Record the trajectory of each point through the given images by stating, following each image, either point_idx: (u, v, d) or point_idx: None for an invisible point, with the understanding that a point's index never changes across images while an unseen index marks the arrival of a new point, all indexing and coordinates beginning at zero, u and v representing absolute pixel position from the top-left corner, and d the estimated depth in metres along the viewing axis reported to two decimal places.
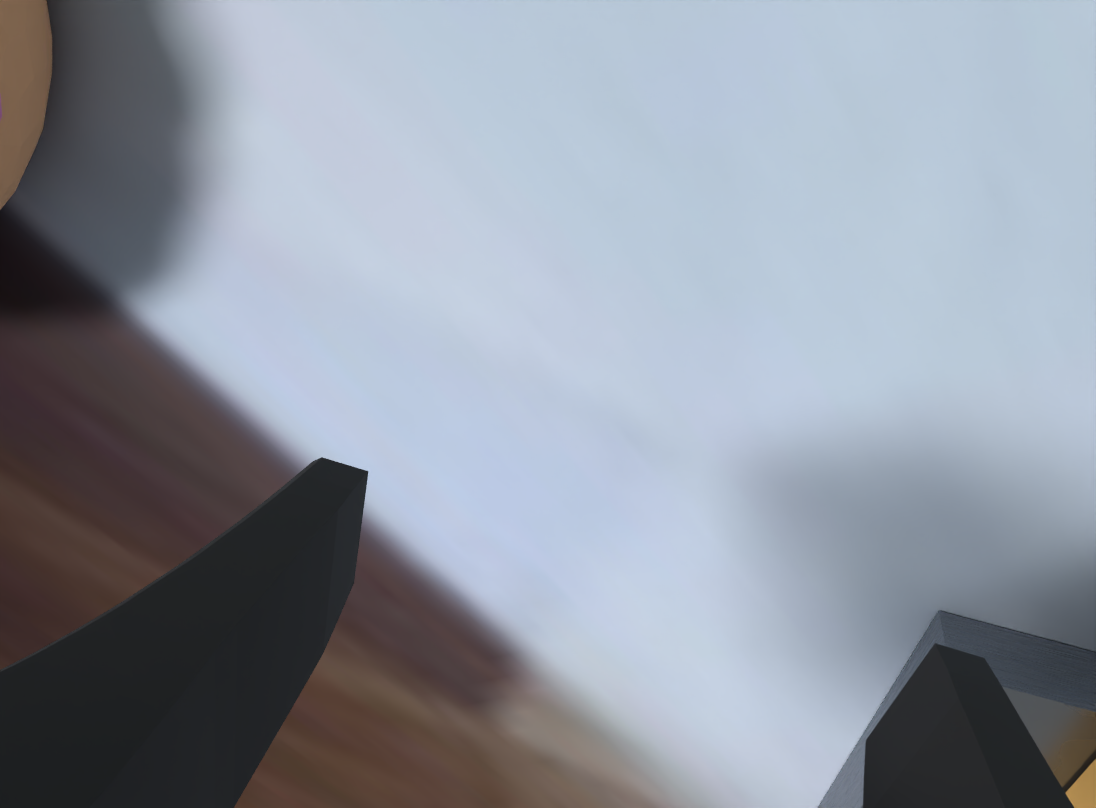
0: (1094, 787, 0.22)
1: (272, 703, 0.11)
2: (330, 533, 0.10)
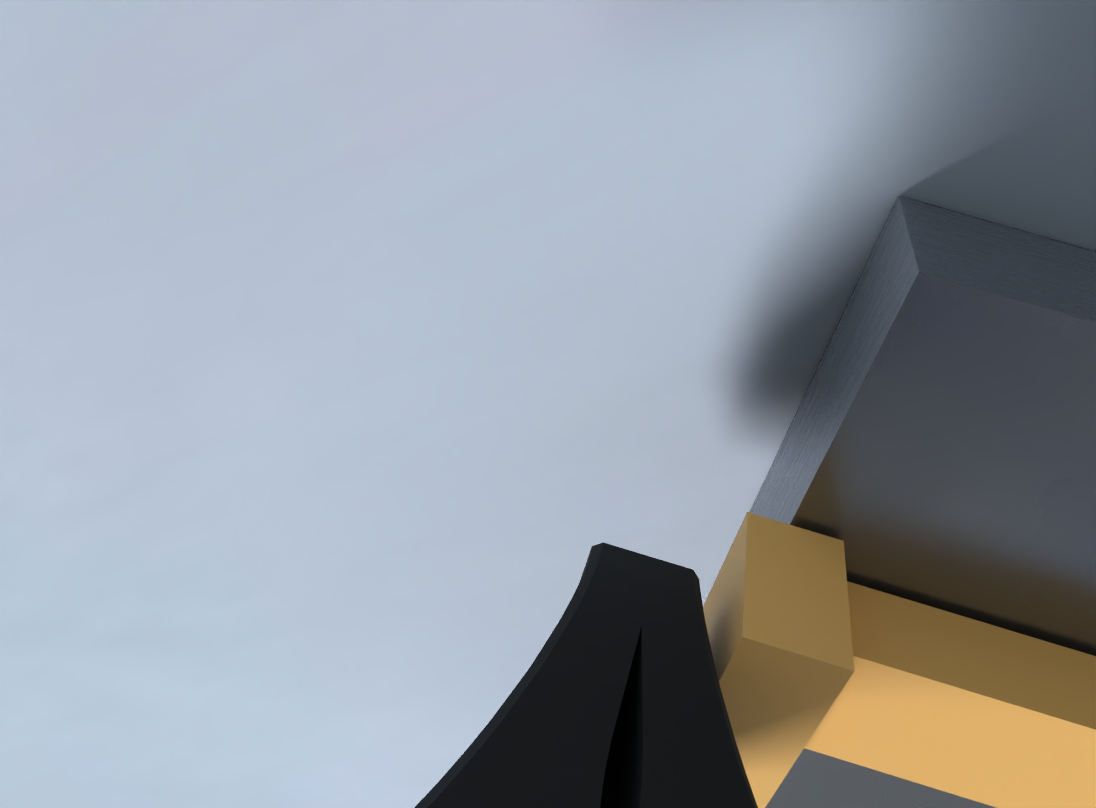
0: None
1: None
2: None
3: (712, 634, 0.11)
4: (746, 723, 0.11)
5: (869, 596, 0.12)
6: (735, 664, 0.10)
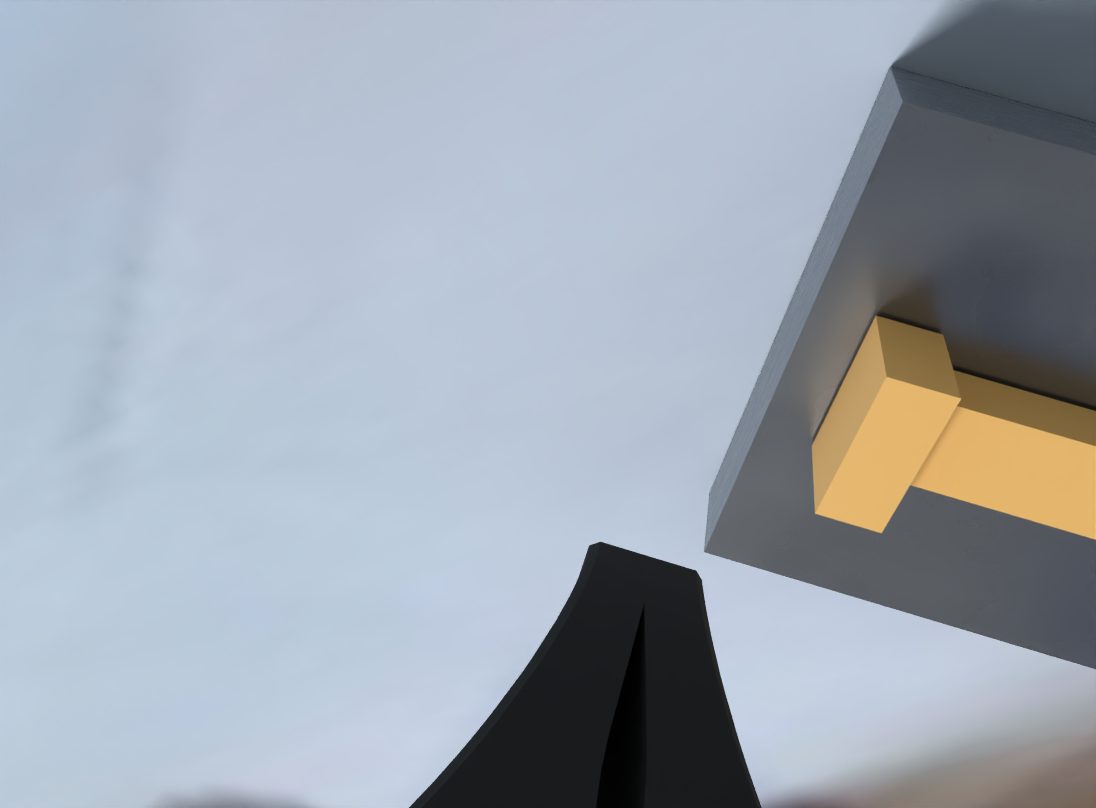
0: None
1: None
2: None
3: (852, 399, 0.16)
4: (882, 448, 0.15)
5: (960, 376, 0.17)
6: (879, 399, 0.15)
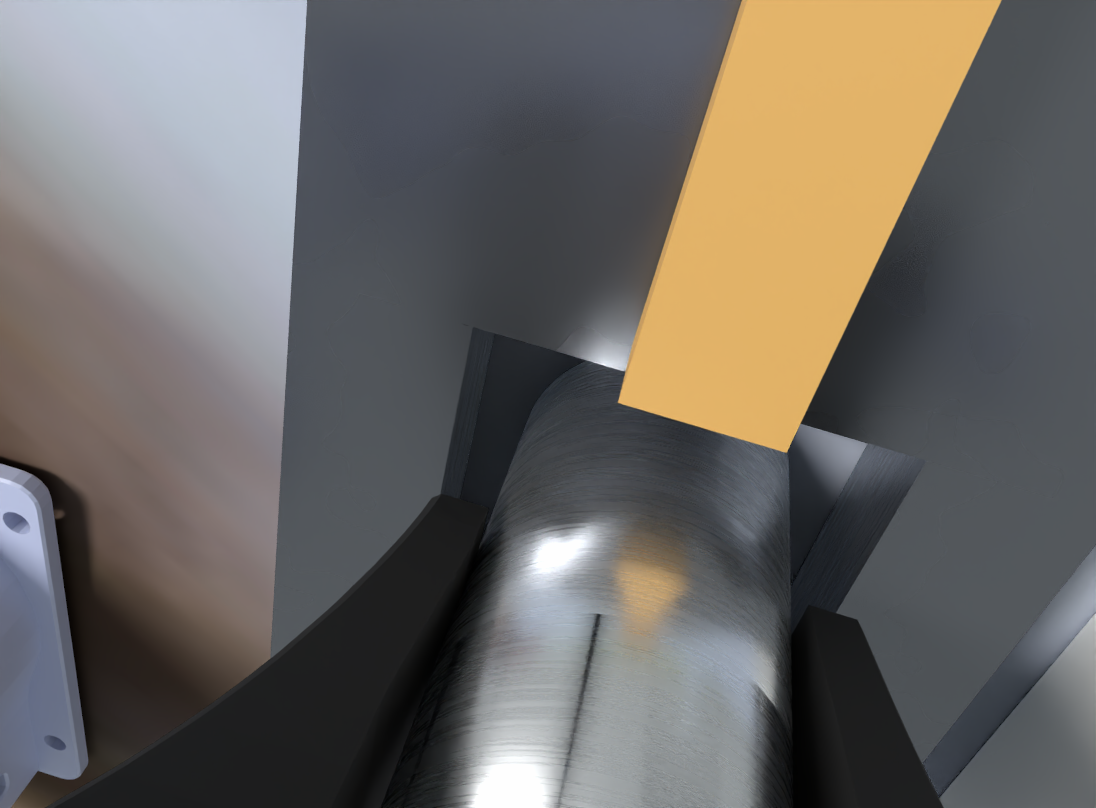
0: None
1: (402, 744, 0.10)
2: (462, 574, 0.10)
3: None
4: None
5: None
6: None
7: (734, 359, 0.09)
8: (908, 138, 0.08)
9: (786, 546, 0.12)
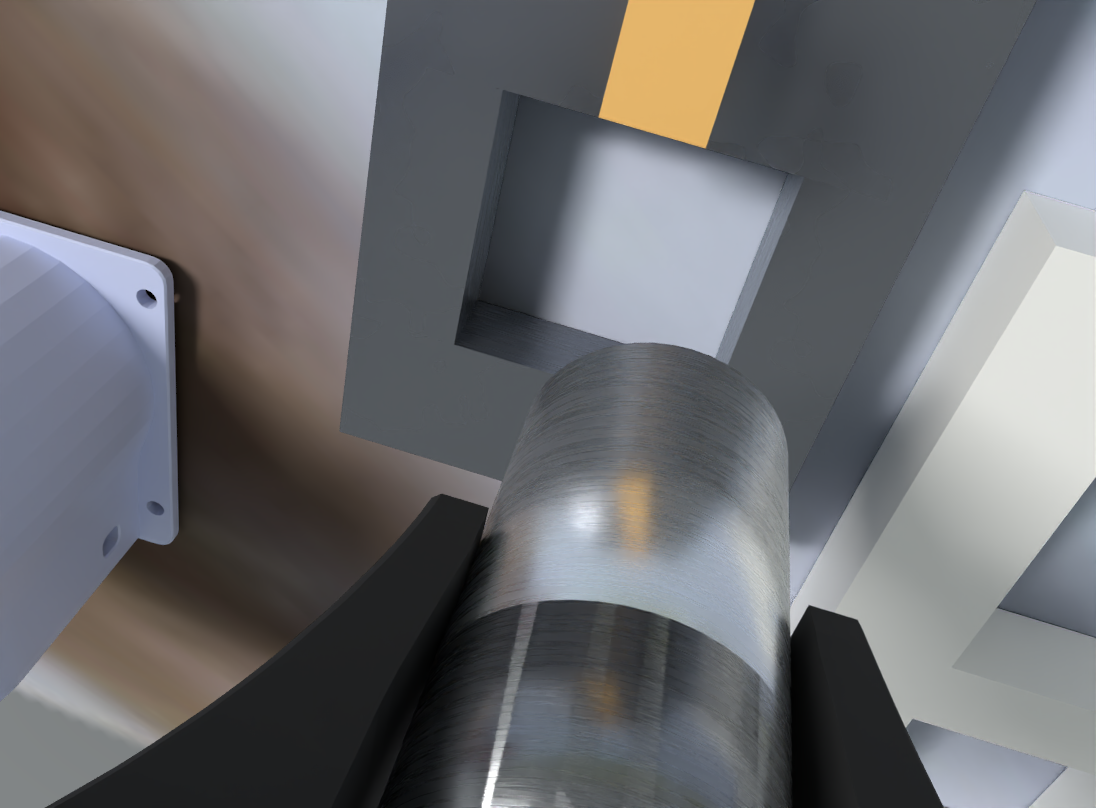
0: None
1: None
2: (461, 574, 0.10)
3: None
4: None
5: None
6: None
7: (671, 80, 0.15)
8: None
9: (785, 537, 0.12)
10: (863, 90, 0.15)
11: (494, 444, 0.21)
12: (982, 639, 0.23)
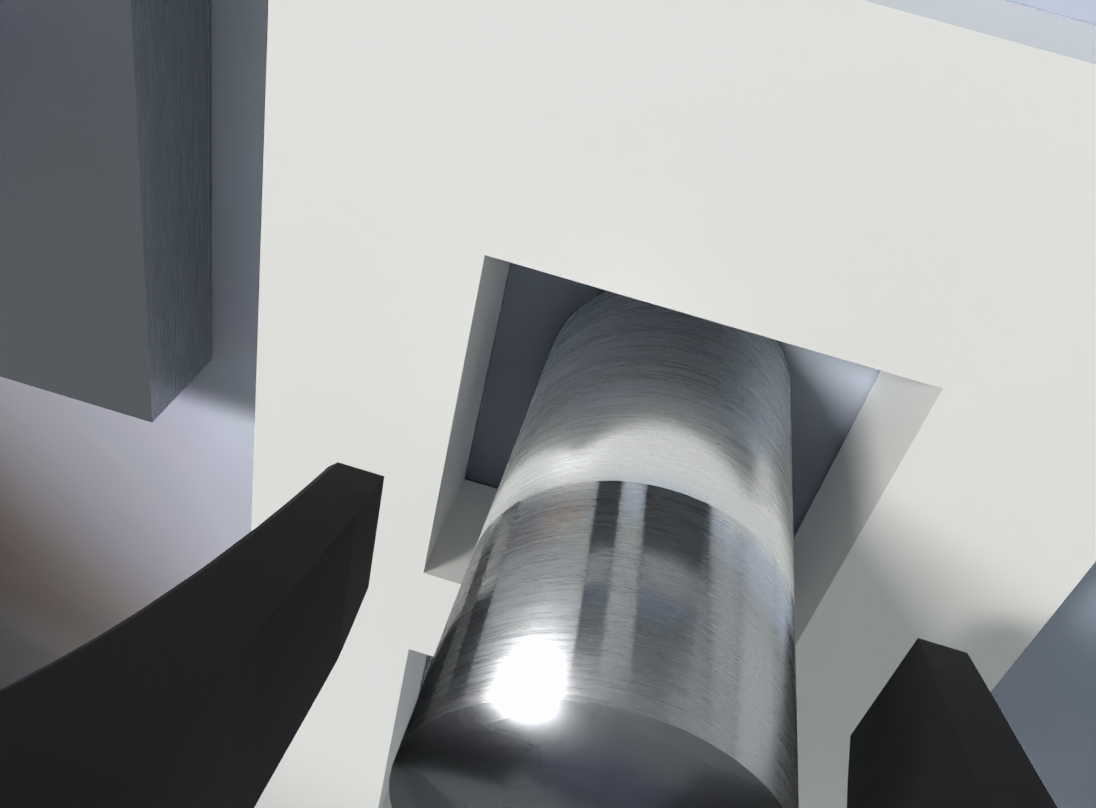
0: None
1: (290, 709, 0.11)
2: (348, 539, 0.10)
3: None
4: None
5: None
6: None
7: None
8: None
9: (786, 441, 0.13)
10: None
11: None
12: None
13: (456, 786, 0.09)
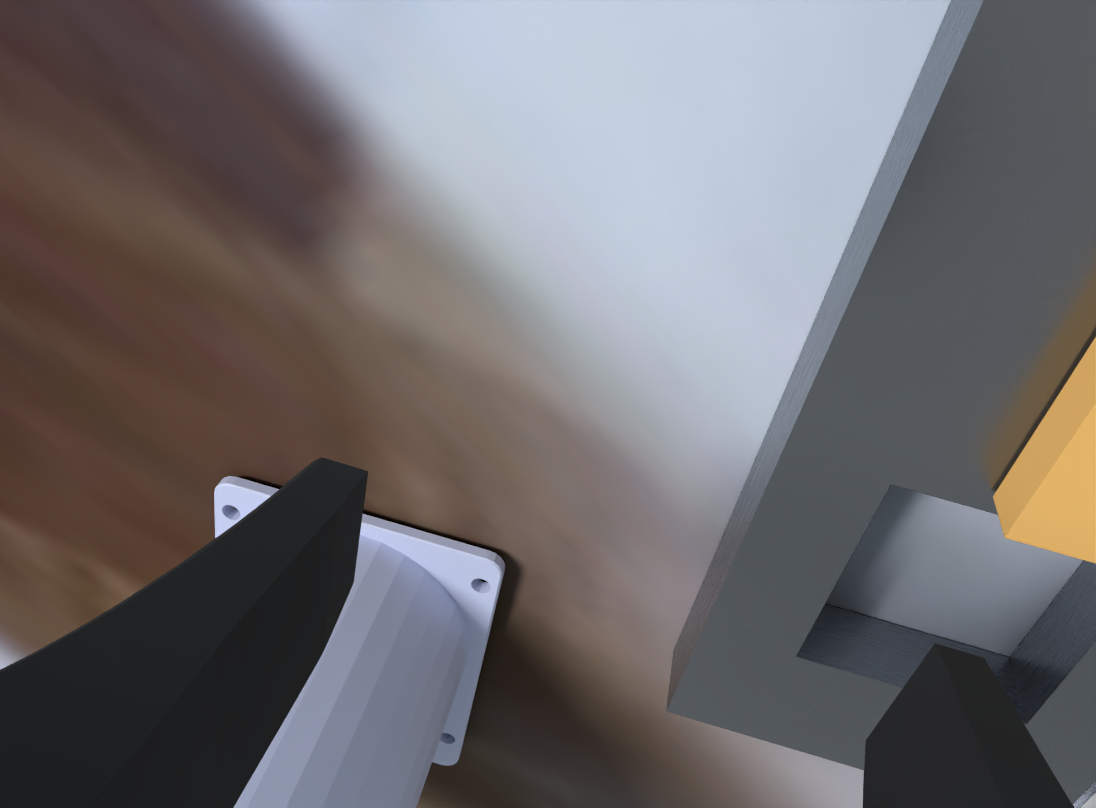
0: None
1: (273, 704, 0.11)
2: (330, 534, 0.10)
3: None
4: None
5: None
6: None
7: (1080, 518, 0.17)
8: None
9: None
10: None
11: (816, 729, 0.23)
12: None
13: None
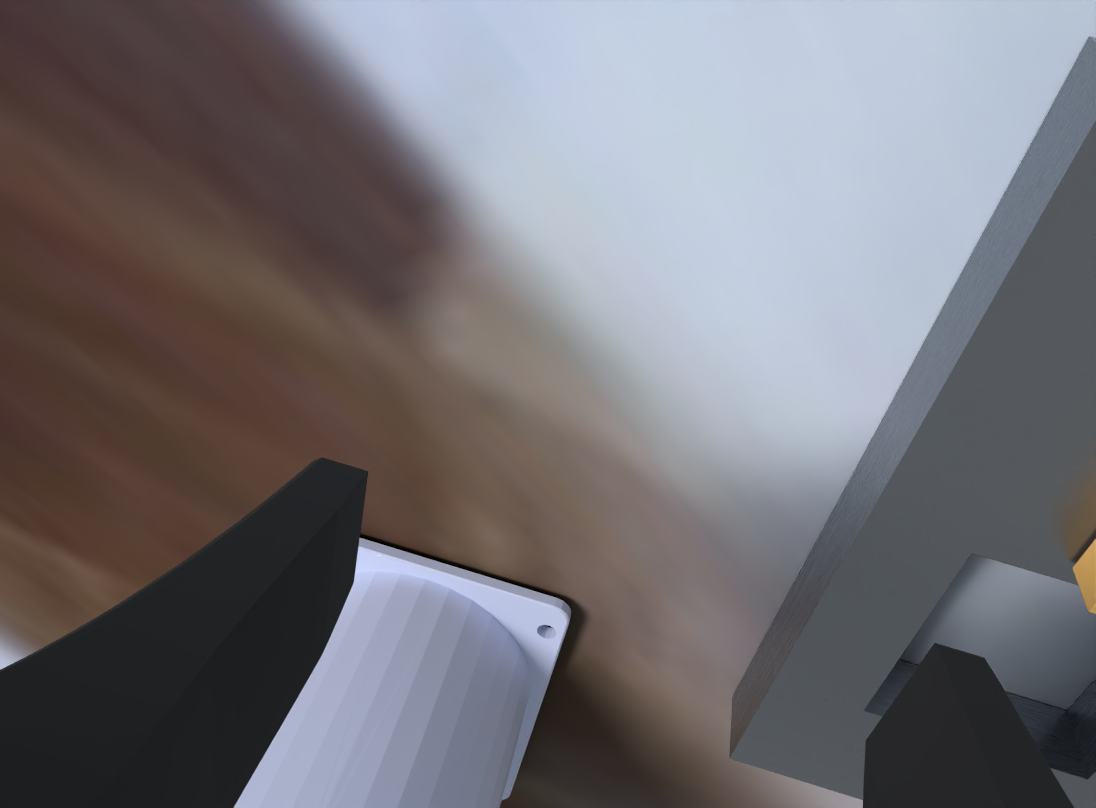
0: None
1: (273, 703, 0.11)
2: (329, 533, 0.10)
3: None
4: None
5: None
6: None
7: None
8: None
9: None
10: None
11: None
12: None
13: None
